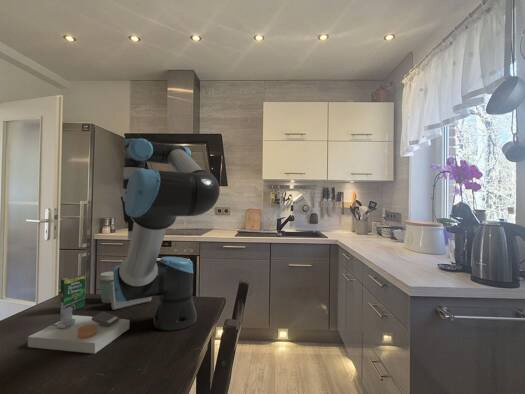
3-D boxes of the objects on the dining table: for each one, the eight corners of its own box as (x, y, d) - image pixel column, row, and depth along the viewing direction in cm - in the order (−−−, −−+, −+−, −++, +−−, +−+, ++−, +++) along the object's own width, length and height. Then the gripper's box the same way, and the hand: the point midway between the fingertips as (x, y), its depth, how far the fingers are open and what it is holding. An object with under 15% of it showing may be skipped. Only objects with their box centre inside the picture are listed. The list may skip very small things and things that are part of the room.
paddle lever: (75, 322, 90) (75, 307, 90) (64, 328, 86) (65, 311, 86) (67, 322, 90) (67, 306, 90) (56, 327, 86) (57, 311, 86)
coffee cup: (110, 305, 115) (111, 276, 115) (93, 303, 116) (94, 275, 117) (124, 298, 123) (125, 271, 123) (108, 296, 125) (109, 270, 125)
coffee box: (62, 314, 104) (63, 279, 105) (59, 312, 106) (60, 278, 106) (85, 307, 111) (86, 275, 112) (81, 306, 113) (82, 274, 113)
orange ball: (99, 341, 85) (100, 325, 85) (87, 349, 80) (88, 332, 80) (85, 340, 85) (86, 324, 85) (73, 348, 80) (73, 331, 81)
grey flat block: (118, 320, 93) (119, 317, 93) (108, 326, 88) (109, 323, 88) (102, 314, 93) (103, 311, 93) (91, 320, 88) (92, 317, 88)
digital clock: (109, 311, 108) (110, 284, 108) (108, 304, 115) (109, 279, 116) (153, 304, 116) (153, 279, 117) (149, 298, 124) (150, 274, 124)
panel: (129, 328, 94) (129, 318, 94) (94, 353, 78) (95, 341, 78) (72, 323, 96) (72, 313, 97) (27, 346, 81) (28, 334, 81)
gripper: (134, 180, 113) (132, 237, 113) (114, 177, 100) (112, 241, 100) (151, 180, 113) (149, 237, 112) (133, 177, 100) (131, 242, 99)
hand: (132, 239), depth 106 cm, fingers closed
